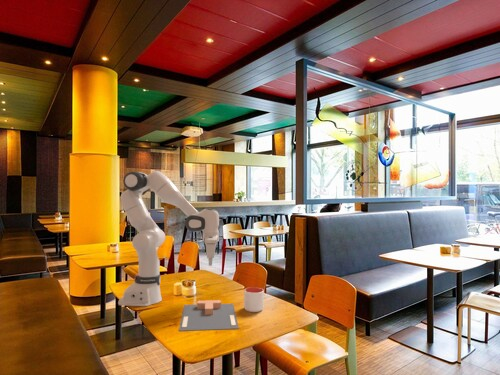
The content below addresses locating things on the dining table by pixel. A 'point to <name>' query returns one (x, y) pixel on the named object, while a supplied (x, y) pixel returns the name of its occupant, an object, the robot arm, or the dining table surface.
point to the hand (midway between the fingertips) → (210, 263)
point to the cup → (253, 299)
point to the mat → (208, 318)
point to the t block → (209, 306)
